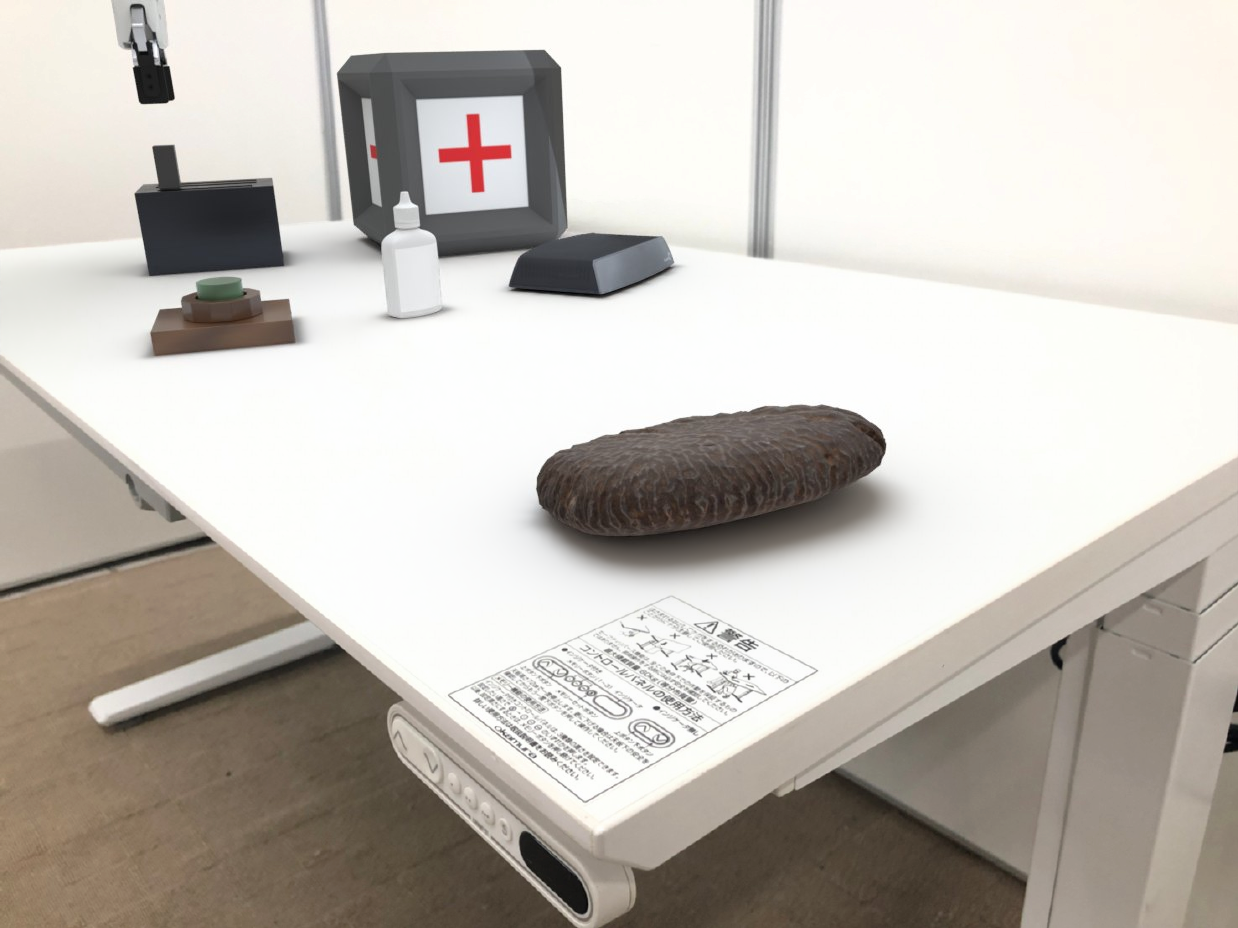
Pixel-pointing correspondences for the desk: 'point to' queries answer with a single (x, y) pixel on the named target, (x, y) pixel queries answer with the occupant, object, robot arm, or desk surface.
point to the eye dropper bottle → (410, 265)
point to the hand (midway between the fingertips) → (158, 102)
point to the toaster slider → (166, 166)
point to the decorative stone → (708, 469)
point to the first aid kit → (457, 146)
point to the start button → (219, 288)
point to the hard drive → (591, 263)
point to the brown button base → (222, 324)
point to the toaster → (209, 226)
